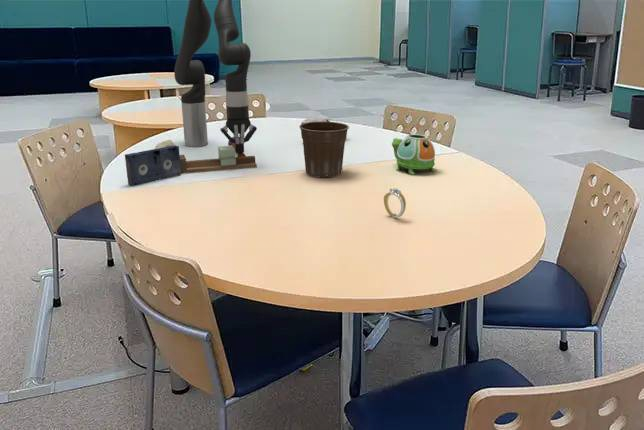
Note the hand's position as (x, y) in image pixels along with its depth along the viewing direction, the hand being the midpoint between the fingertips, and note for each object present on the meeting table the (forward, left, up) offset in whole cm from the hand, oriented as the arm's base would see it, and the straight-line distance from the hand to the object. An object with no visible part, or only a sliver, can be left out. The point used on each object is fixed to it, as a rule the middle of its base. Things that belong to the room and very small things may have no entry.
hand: (239, 153), depth 208 cm
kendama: (-16, +2, -5) cm, 17 cm away
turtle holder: (+23, +55, -5) cm, 60 cm away
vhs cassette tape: (+8, -29, -5) cm, 31 cm away
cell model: (-28, +40, -5) cm, 50 cm away
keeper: (0, -5, -3) cm, 5 cm away
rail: (0, -8, -4) cm, 9 cm away
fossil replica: (-12, -25, -5) cm, 28 cm away
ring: (+66, +29, -5) cm, 72 cm away
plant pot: (+18, +25, -5) cm, 31 cm away
